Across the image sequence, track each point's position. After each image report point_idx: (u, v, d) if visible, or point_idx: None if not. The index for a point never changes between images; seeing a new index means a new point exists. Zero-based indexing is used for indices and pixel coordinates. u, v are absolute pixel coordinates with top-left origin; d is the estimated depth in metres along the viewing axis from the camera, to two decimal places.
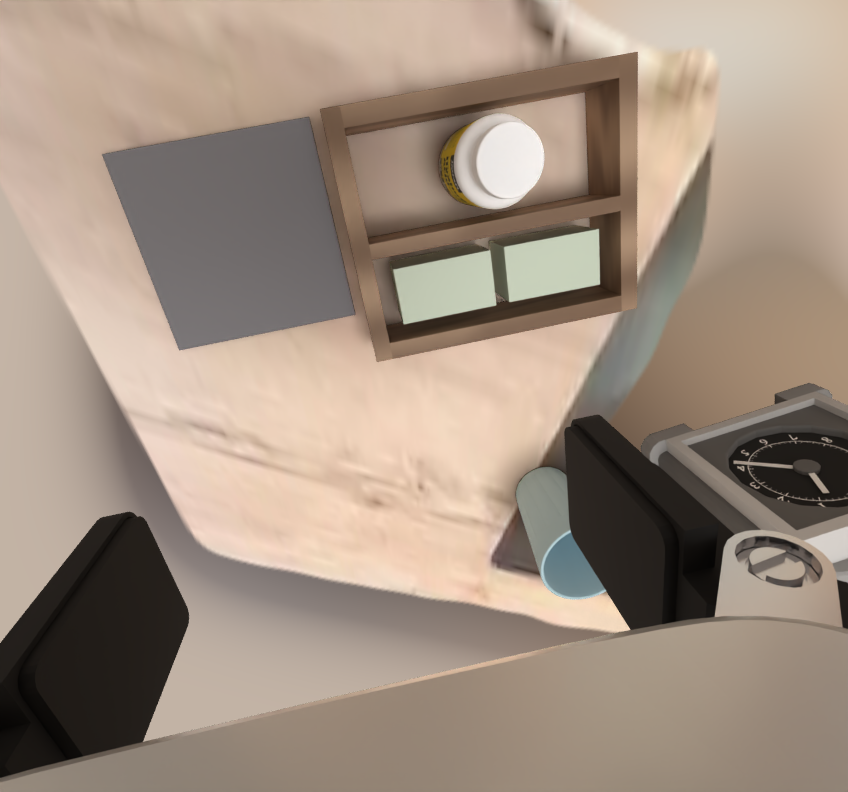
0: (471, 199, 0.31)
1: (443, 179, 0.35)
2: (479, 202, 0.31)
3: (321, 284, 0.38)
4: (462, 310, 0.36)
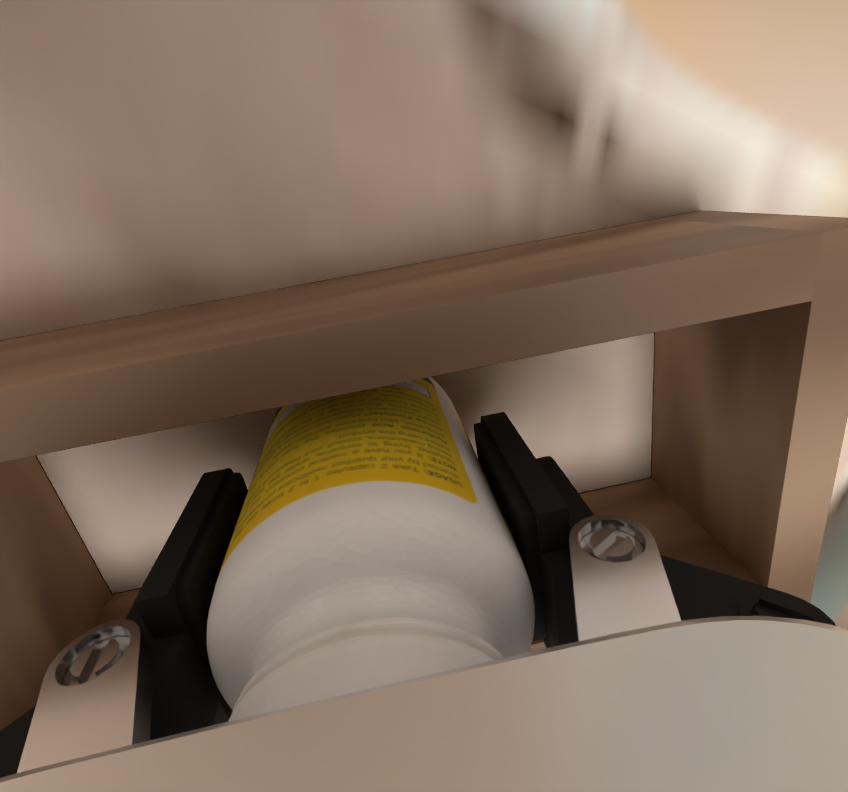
0: None
1: None
2: None
3: None
4: None
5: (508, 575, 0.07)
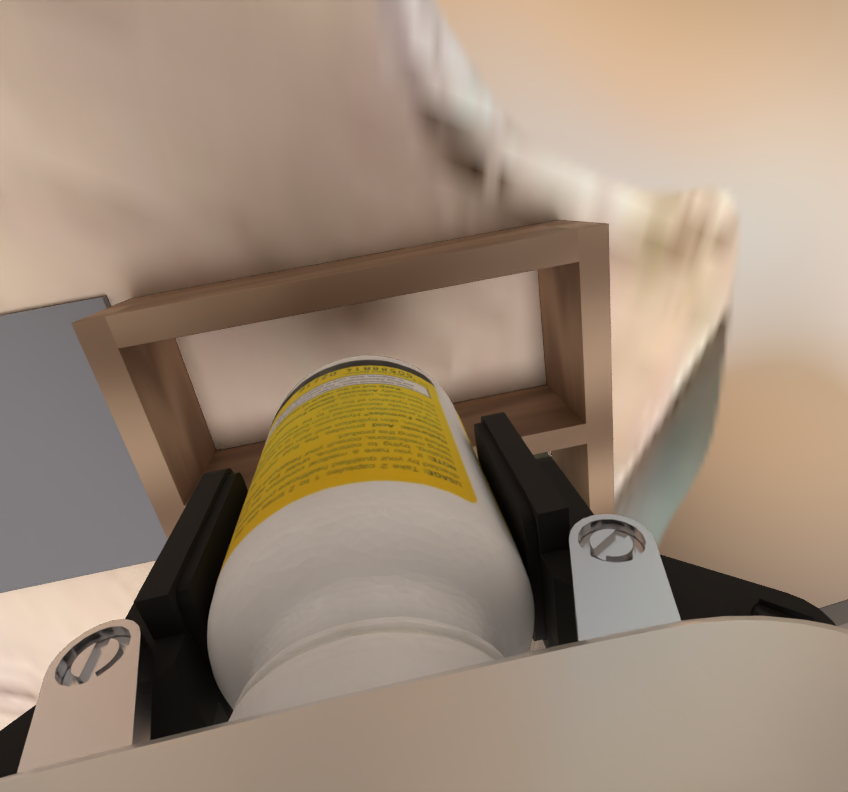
0: None
1: None
2: None
3: (151, 515, 0.26)
4: None
5: (507, 574, 0.07)
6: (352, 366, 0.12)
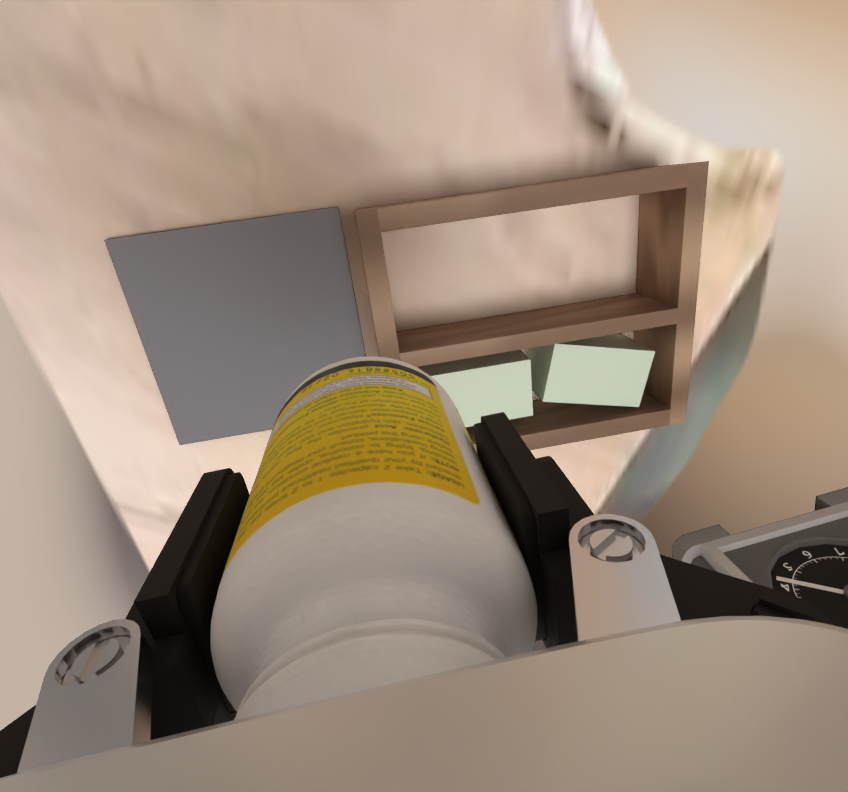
0: None
1: None
2: None
3: None
4: None
5: (511, 576, 0.07)
6: (354, 367, 0.12)
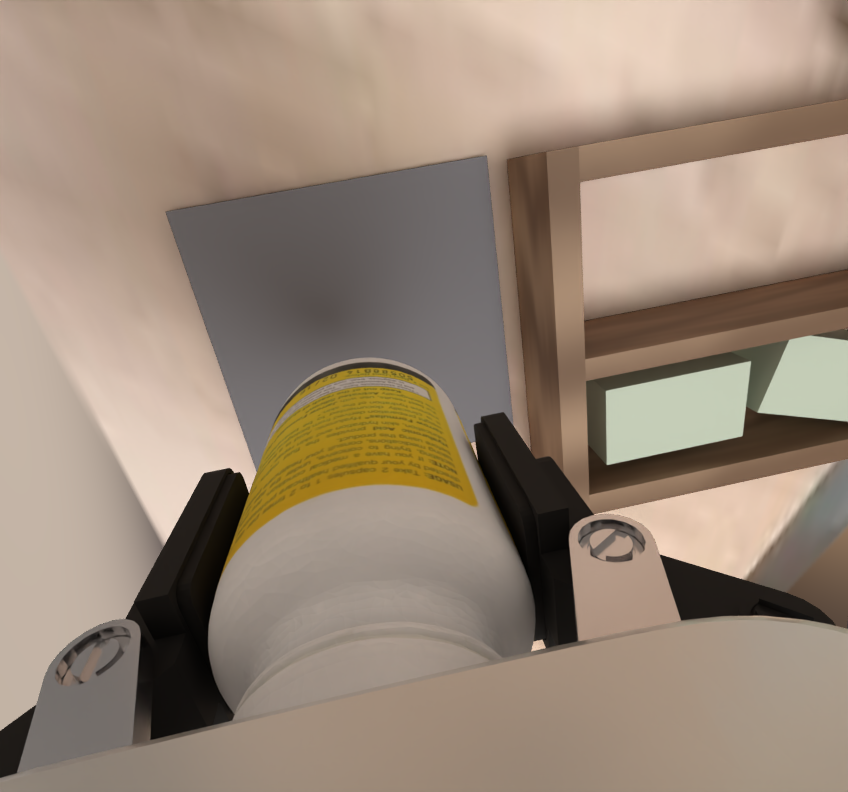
0: None
1: None
2: None
3: (473, 394, 0.26)
4: (693, 444, 0.24)
5: (508, 579, 0.07)
6: (353, 368, 0.12)
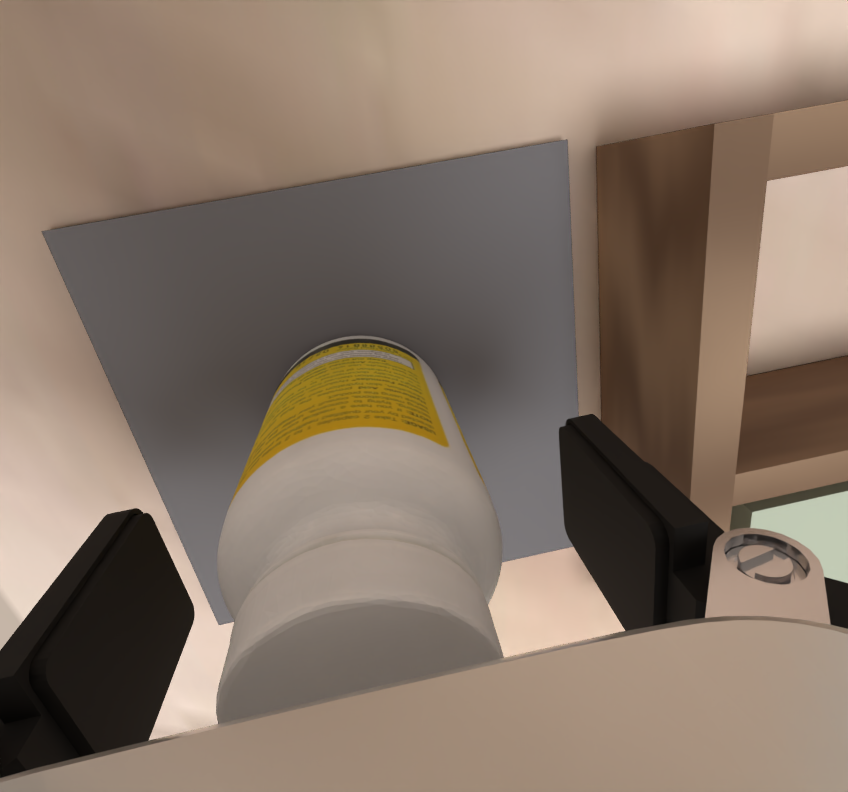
0: None
1: None
2: None
3: (528, 494, 0.18)
4: None
5: (474, 505, 0.09)
6: (343, 344, 0.14)
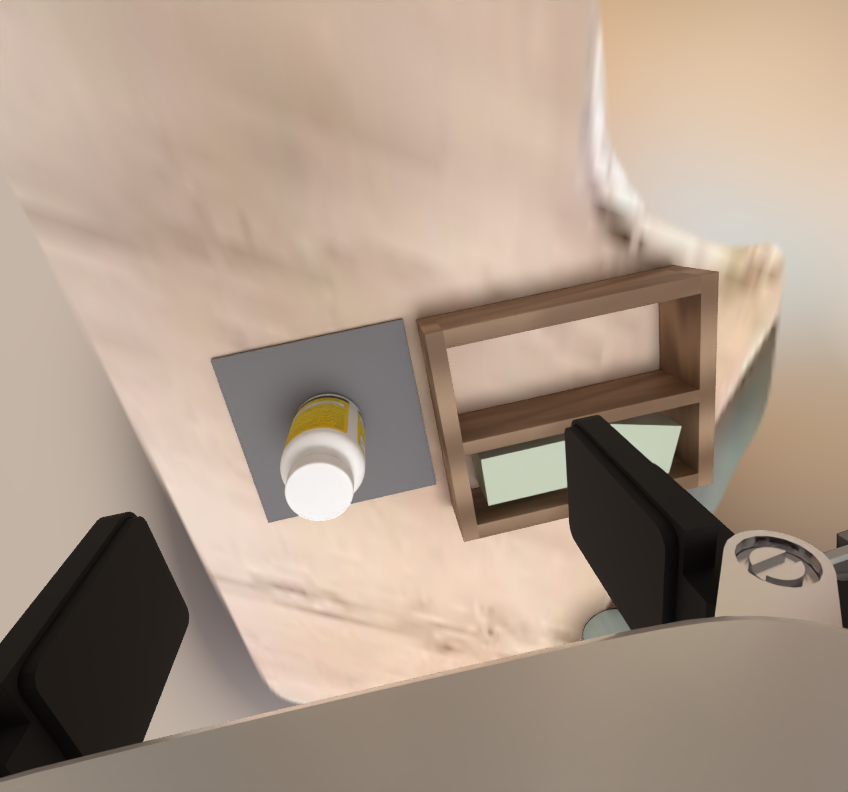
0: None
1: None
2: None
3: (406, 459, 0.40)
4: (544, 491, 0.38)
5: (351, 448, 0.31)
6: (319, 398, 0.36)
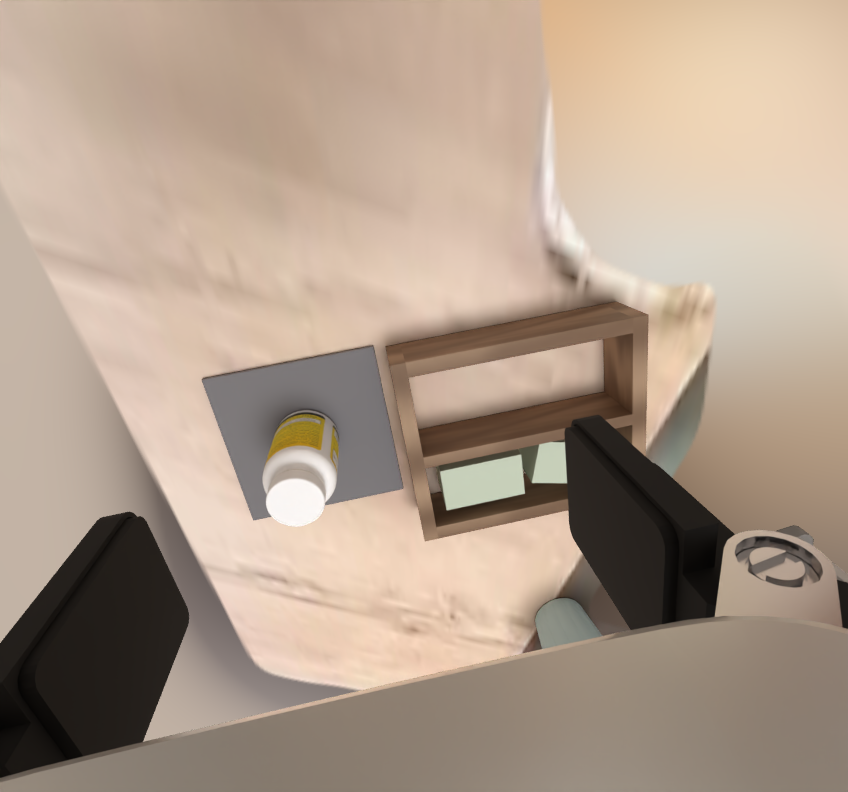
0: None
1: None
2: None
3: (376, 467, 0.45)
4: (496, 498, 0.43)
5: (324, 464, 0.36)
6: (298, 415, 0.40)
